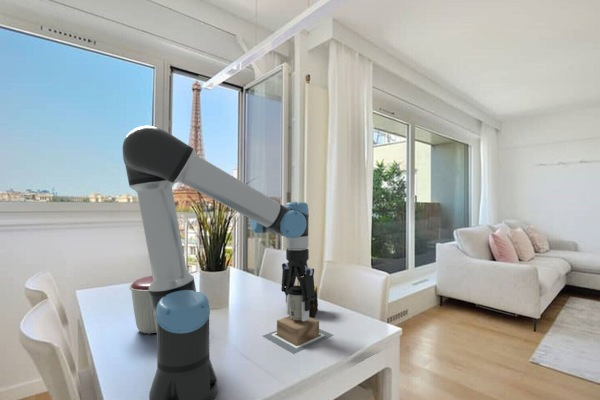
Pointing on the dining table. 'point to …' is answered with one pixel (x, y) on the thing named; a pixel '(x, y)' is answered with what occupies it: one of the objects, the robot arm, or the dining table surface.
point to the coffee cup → (295, 302)
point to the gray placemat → (293, 347)
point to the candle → (313, 305)
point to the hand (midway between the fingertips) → (297, 316)
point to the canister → (143, 305)
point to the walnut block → (297, 330)
